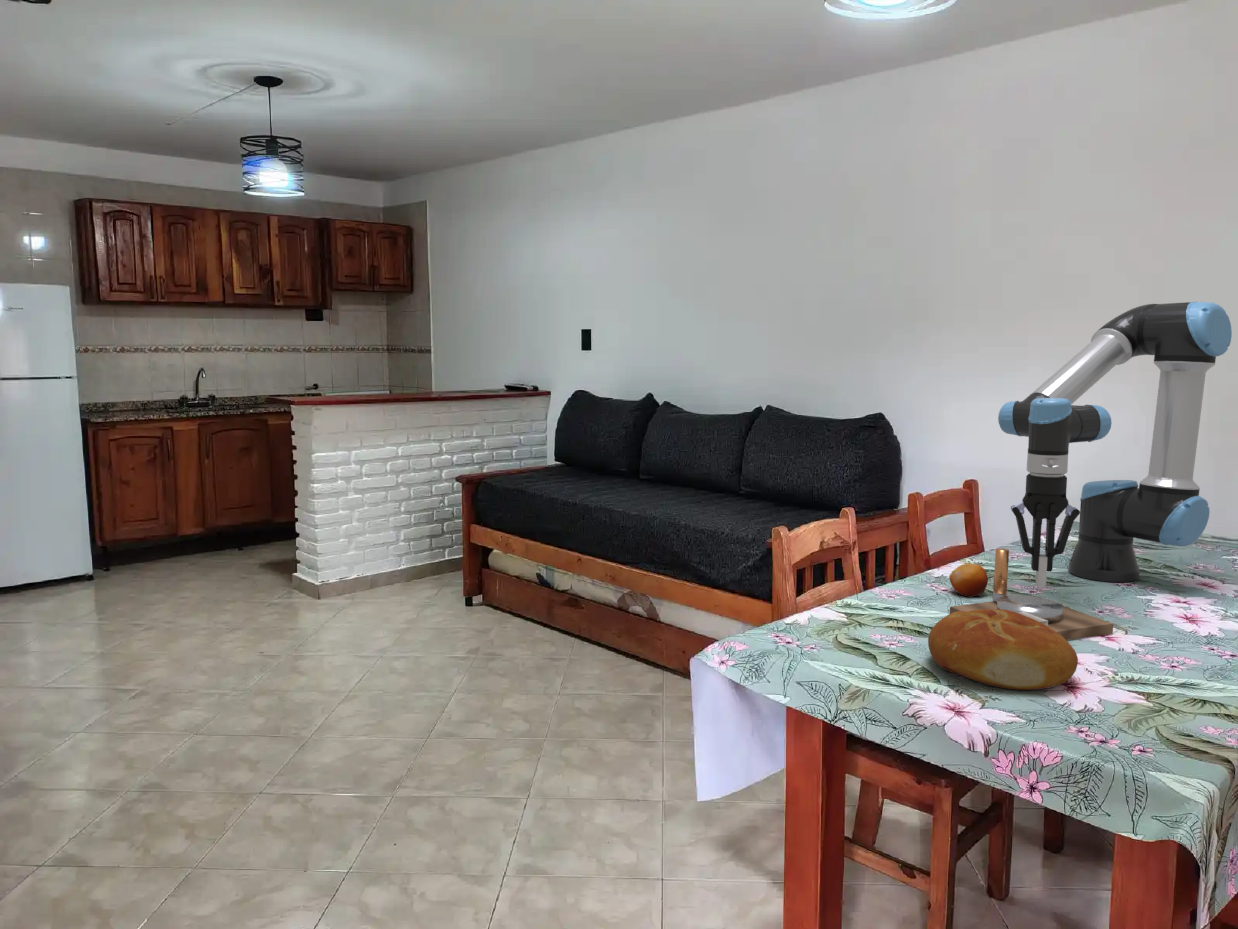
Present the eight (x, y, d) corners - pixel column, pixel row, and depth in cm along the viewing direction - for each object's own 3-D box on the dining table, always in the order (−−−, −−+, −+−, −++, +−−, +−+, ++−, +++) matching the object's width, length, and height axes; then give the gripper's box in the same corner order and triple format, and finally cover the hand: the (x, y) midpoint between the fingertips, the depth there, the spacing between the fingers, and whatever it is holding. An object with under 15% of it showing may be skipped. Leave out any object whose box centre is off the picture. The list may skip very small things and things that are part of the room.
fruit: (1000, 593, 193) (981, 562, 193) (966, 610, 195) (948, 579, 195) (992, 584, 201) (974, 554, 201) (960, 599, 203) (942, 570, 203)
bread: (1002, 708, 137) (1005, 646, 136) (899, 659, 158) (901, 605, 157) (1104, 685, 146) (1109, 626, 145) (993, 641, 167) (996, 590, 166)
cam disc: (1076, 620, 172) (1080, 565, 171) (1023, 625, 169) (1027, 569, 168) (1019, 597, 188) (1022, 546, 186) (970, 601, 185) (973, 550, 183)
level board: (1033, 605, 190) (1034, 585, 189) (1112, 633, 171) (1114, 611, 170) (949, 616, 182) (950, 595, 182) (1022, 646, 164) (1023, 624, 163)
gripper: (1014, 476, 178) (1009, 589, 181) (1086, 477, 174) (1079, 593, 178) (1009, 470, 185) (1004, 579, 188) (1077, 472, 181) (1071, 583, 185)
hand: (1040, 586), depth 183 cm, fingers closed
